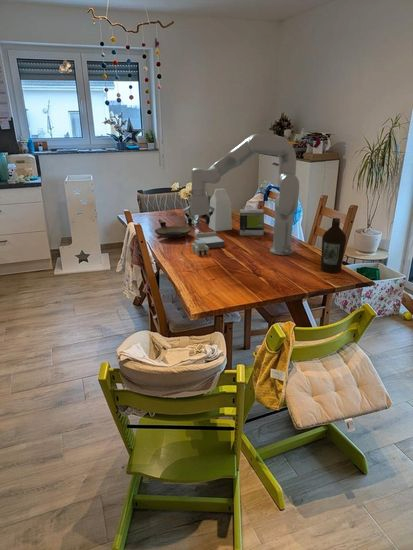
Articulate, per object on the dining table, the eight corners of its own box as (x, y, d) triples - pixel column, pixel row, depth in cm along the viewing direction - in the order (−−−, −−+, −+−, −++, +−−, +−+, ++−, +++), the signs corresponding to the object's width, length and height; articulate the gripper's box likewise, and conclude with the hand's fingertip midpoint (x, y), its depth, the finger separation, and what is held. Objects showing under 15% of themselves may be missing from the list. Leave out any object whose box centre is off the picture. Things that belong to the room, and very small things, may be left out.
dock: (224, 246, 224) (224, 238, 222) (204, 248, 221) (204, 240, 219) (215, 239, 237) (215, 231, 235) (196, 241, 233) (196, 233, 231)
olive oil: (322, 264, 195) (327, 215, 186) (344, 268, 190) (350, 217, 181) (316, 271, 186) (322, 220, 177) (339, 275, 182) (346, 222, 172)
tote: (205, 246, 212) (205, 242, 211) (197, 247, 211) (197, 243, 210) (202, 243, 217) (202, 239, 216) (194, 244, 216) (194, 240, 215)
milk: (224, 225, 269) (225, 186, 259) (231, 229, 259) (232, 189, 249) (208, 227, 265) (208, 188, 255) (215, 231, 255) (215, 191, 245)
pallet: (208, 254, 212) (208, 247, 211) (197, 255, 210) (197, 248, 209) (202, 249, 221) (202, 242, 219) (191, 250, 219) (191, 243, 217)
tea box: (263, 231, 253) (264, 208, 247) (263, 235, 244) (264, 212, 238) (239, 231, 254) (240, 208, 249) (239, 235, 245) (239, 212, 240)
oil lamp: (157, 244, 230) (156, 231, 228) (153, 230, 258) (152, 219, 255) (194, 241, 235) (194, 228, 232) (186, 228, 262) (186, 217, 259)
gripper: (184, 194, 197) (185, 227, 204) (217, 192, 203) (216, 225, 209) (180, 192, 204) (181, 224, 210) (212, 190, 209) (211, 221, 216)
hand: (198, 224), depth 210 cm, fingers open, 9 cm apart
